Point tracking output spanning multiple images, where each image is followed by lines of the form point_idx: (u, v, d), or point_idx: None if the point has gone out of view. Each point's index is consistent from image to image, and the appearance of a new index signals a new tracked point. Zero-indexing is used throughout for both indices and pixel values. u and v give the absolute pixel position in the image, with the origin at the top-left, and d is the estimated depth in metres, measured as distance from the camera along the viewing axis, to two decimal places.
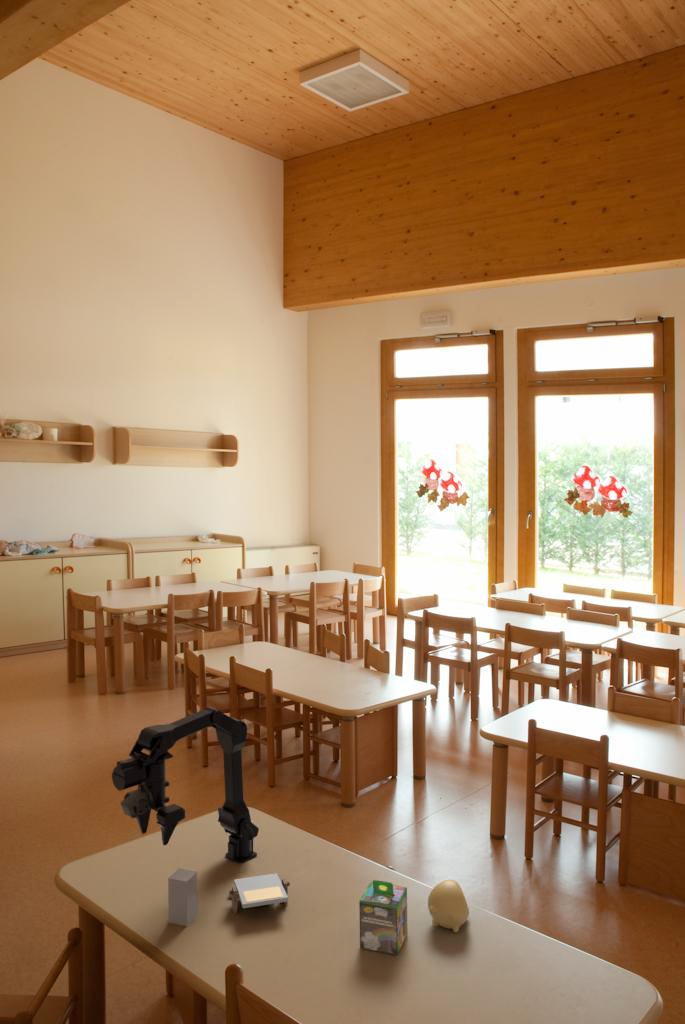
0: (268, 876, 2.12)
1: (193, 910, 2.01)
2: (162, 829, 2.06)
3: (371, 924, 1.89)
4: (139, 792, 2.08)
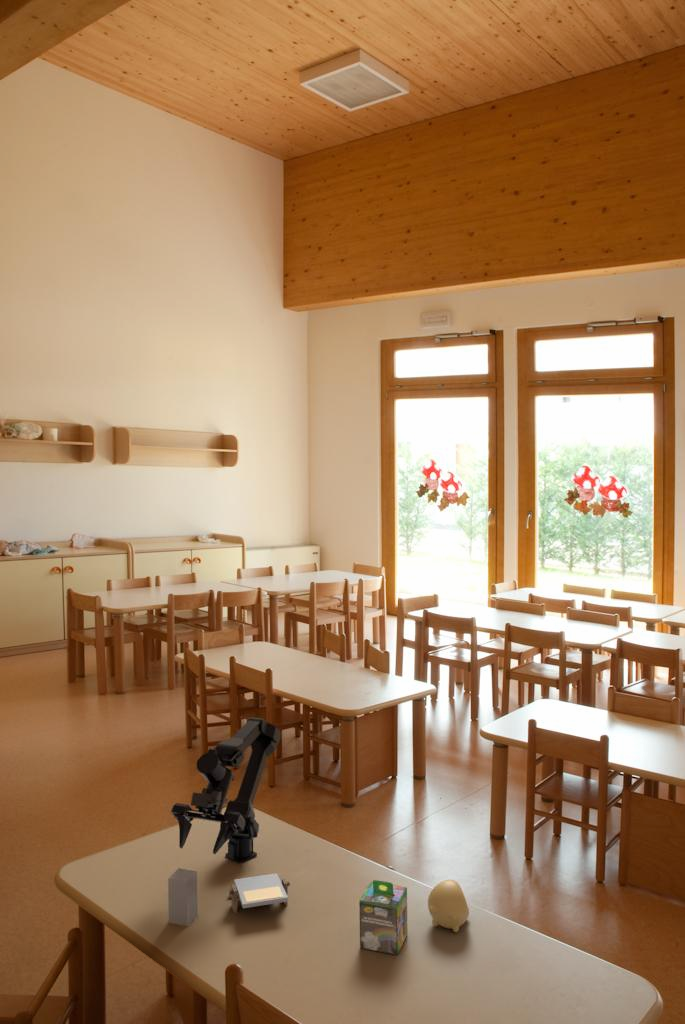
0: (268, 876, 2.12)
1: (193, 910, 2.01)
2: (221, 833, 2.08)
3: (371, 924, 1.89)
4: (206, 793, 2.13)
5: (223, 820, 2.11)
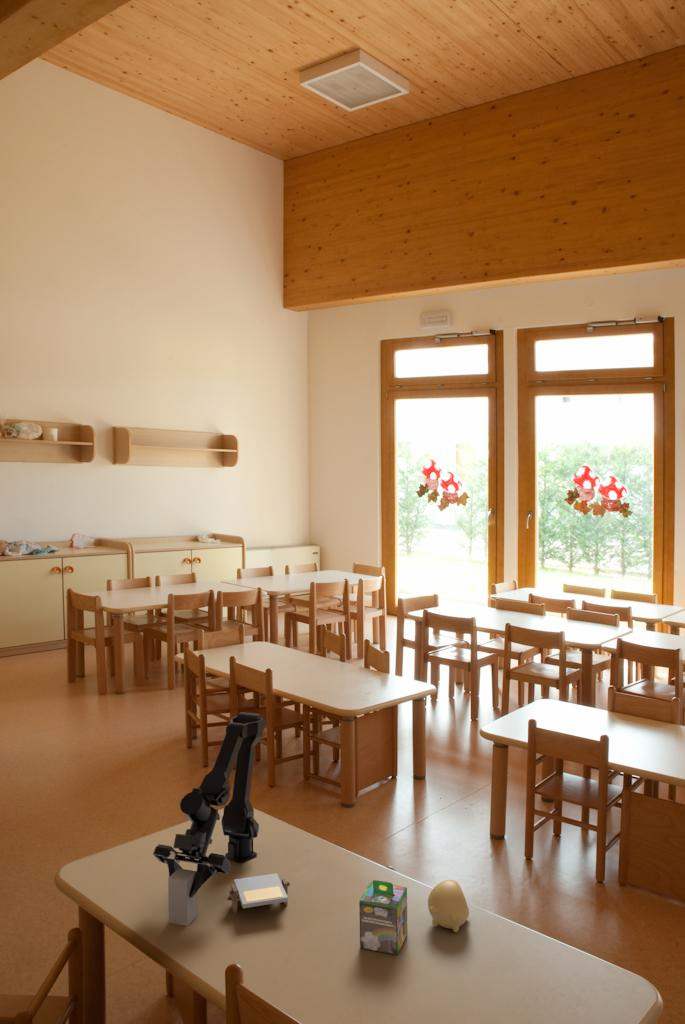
0: (268, 876, 2.12)
1: (193, 910, 2.01)
2: (198, 875, 2.00)
3: (371, 924, 1.89)
4: (189, 835, 2.05)
5: None
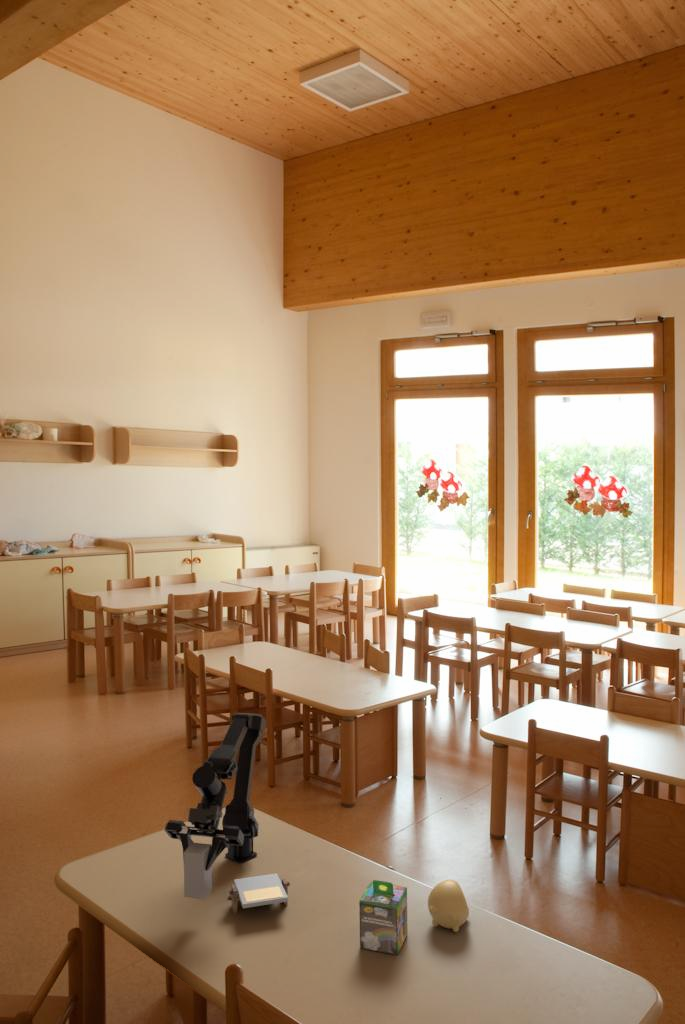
0: (268, 876, 2.12)
1: (208, 883, 2.00)
2: (213, 848, 2.00)
3: (371, 924, 1.89)
4: (202, 808, 2.04)
5: None
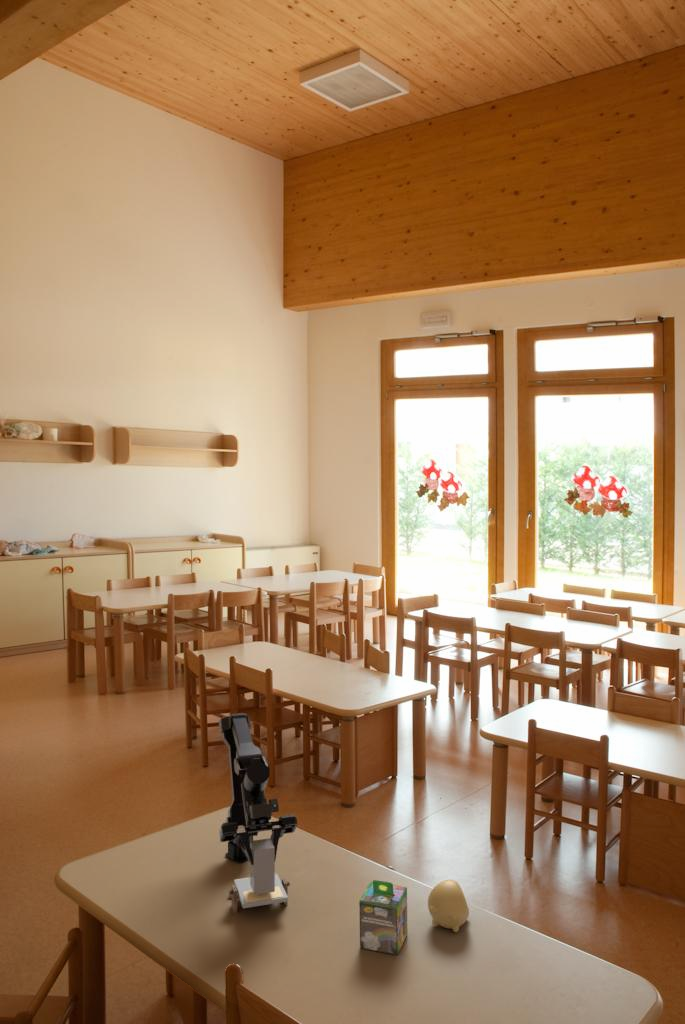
0: None
1: None
2: (275, 839, 2.05)
3: (371, 924, 1.89)
4: (255, 805, 2.07)
5: None
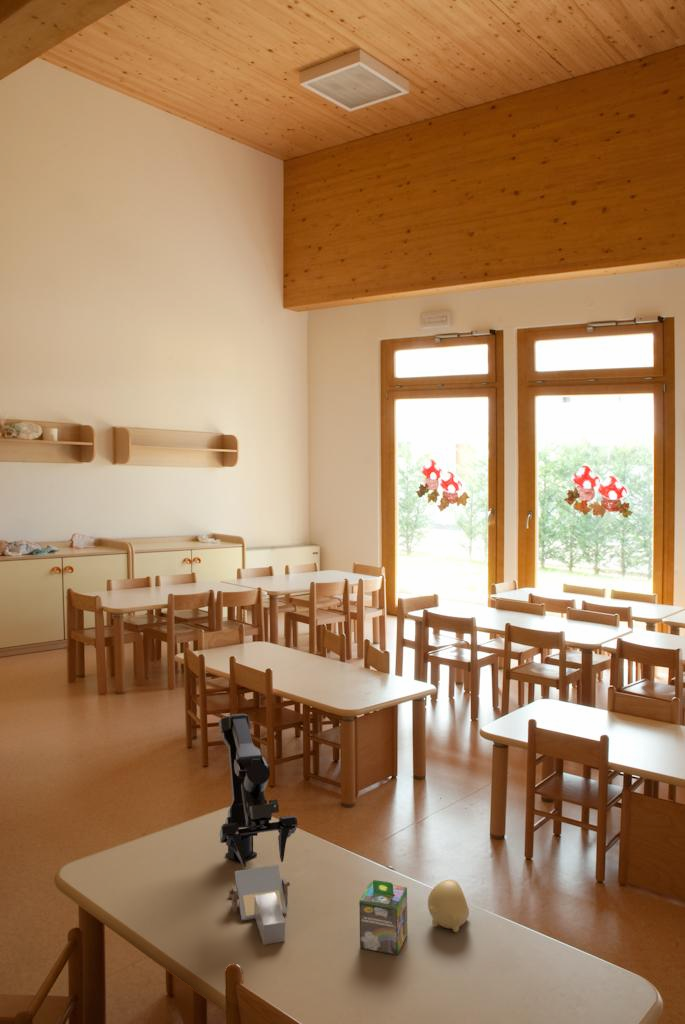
0: (269, 869, 2.11)
1: None
2: (283, 839, 2.05)
3: (371, 924, 1.89)
4: (255, 805, 2.07)
5: (277, 827, 2.08)
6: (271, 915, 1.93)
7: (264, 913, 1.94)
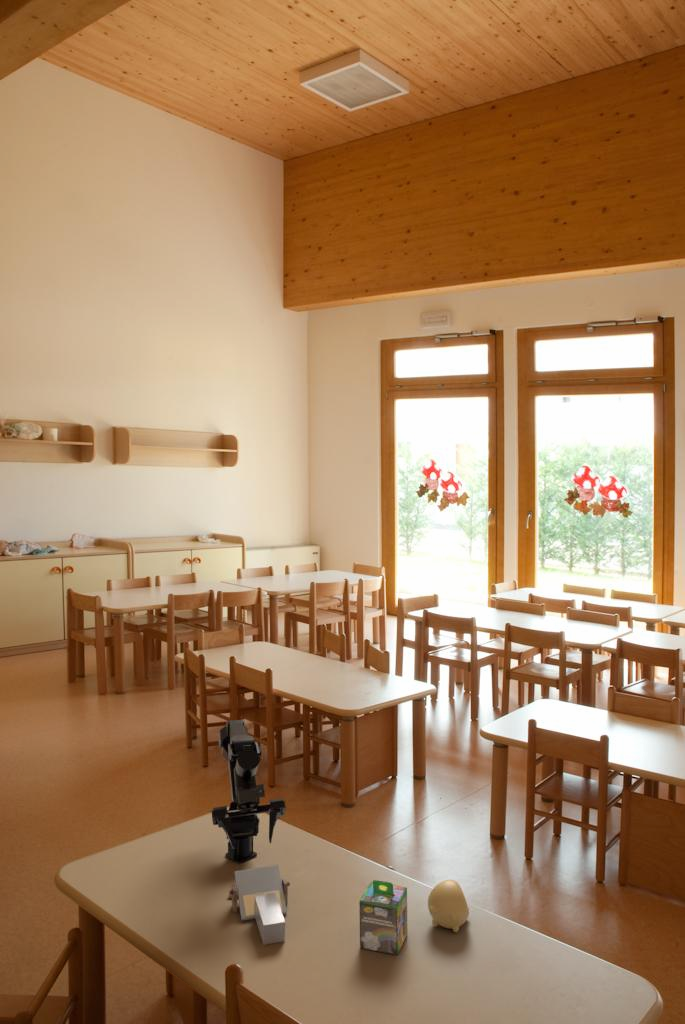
0: (269, 869, 2.11)
1: None
2: (271, 821, 2.13)
3: (371, 924, 1.89)
4: (244, 790, 2.15)
5: (266, 810, 2.16)
6: (271, 916, 1.93)
7: (264, 913, 1.94)
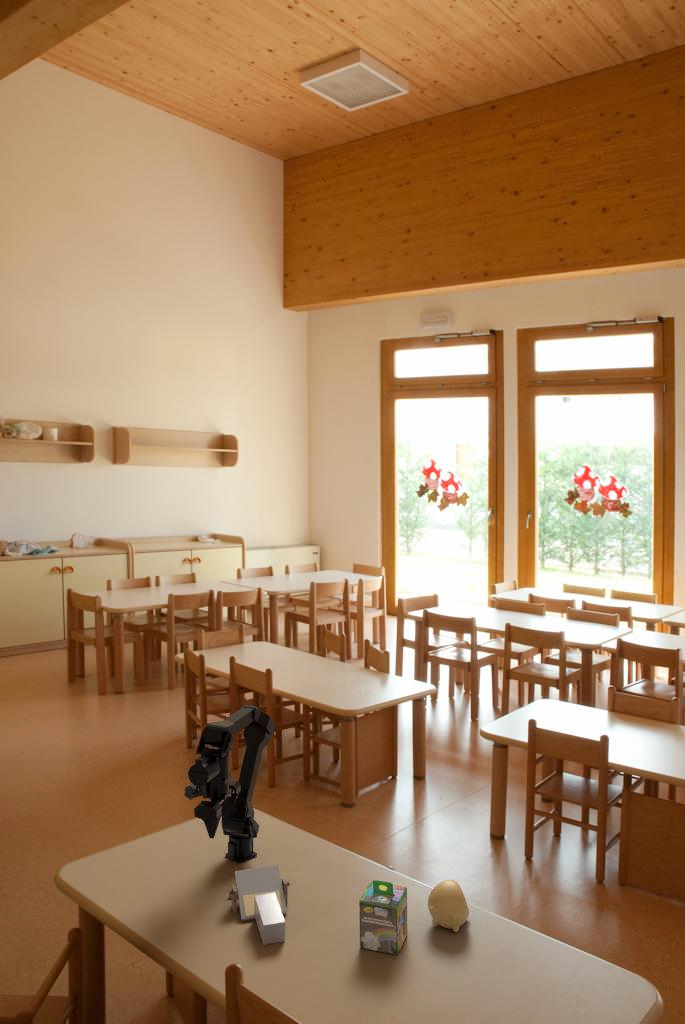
0: (269, 869, 2.11)
1: None
2: None
3: (371, 924, 1.89)
4: None
5: None
6: (271, 916, 1.93)
7: (264, 913, 1.94)
